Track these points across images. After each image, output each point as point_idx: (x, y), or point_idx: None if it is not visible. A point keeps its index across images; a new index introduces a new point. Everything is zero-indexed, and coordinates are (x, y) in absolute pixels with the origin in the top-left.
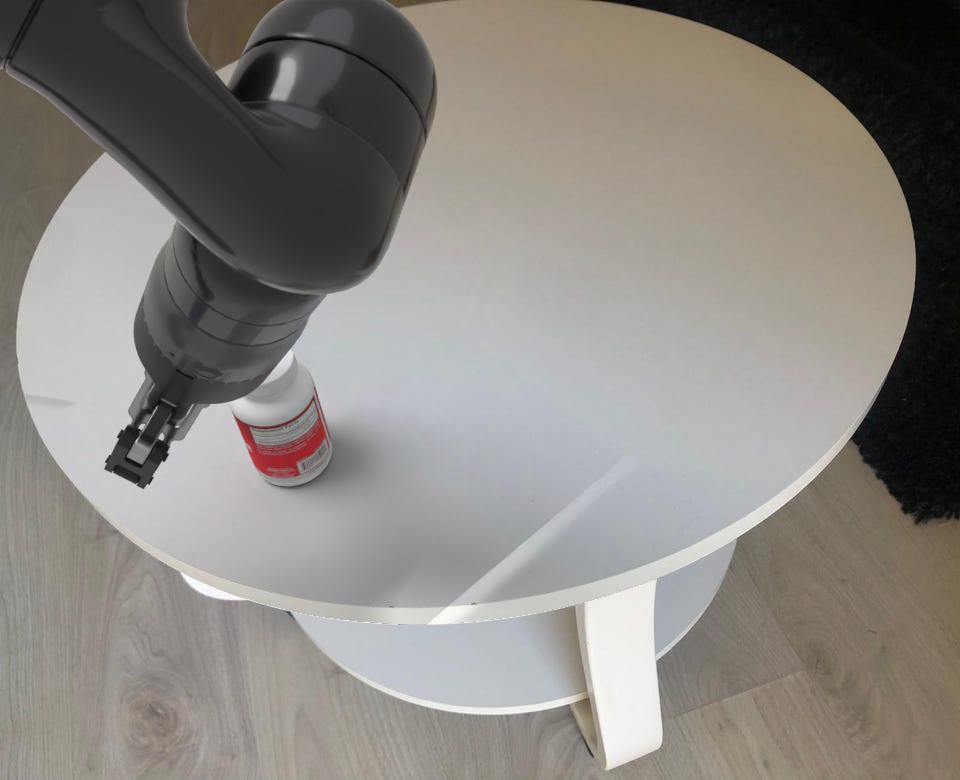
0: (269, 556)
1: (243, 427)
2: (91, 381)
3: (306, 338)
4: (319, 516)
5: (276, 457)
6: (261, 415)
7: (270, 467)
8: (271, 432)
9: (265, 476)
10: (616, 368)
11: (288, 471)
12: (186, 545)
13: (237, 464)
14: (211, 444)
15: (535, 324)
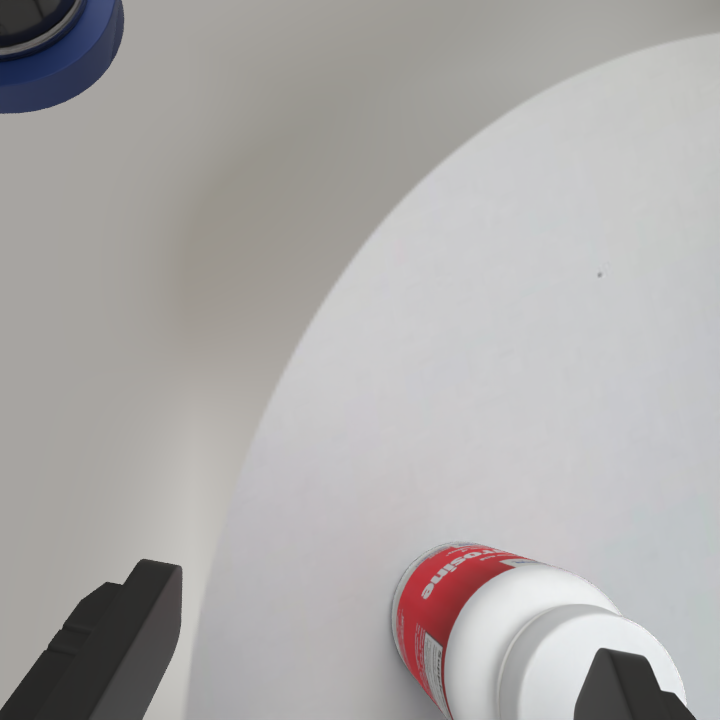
0: (249, 651)
1: (444, 620)
2: (538, 198)
3: (700, 531)
4: (343, 713)
5: (414, 658)
6: (464, 702)
7: (404, 626)
8: (441, 698)
9: (399, 594)
10: None
11: (405, 658)
12: (253, 489)
13: (425, 513)
14: (456, 449)
15: None
